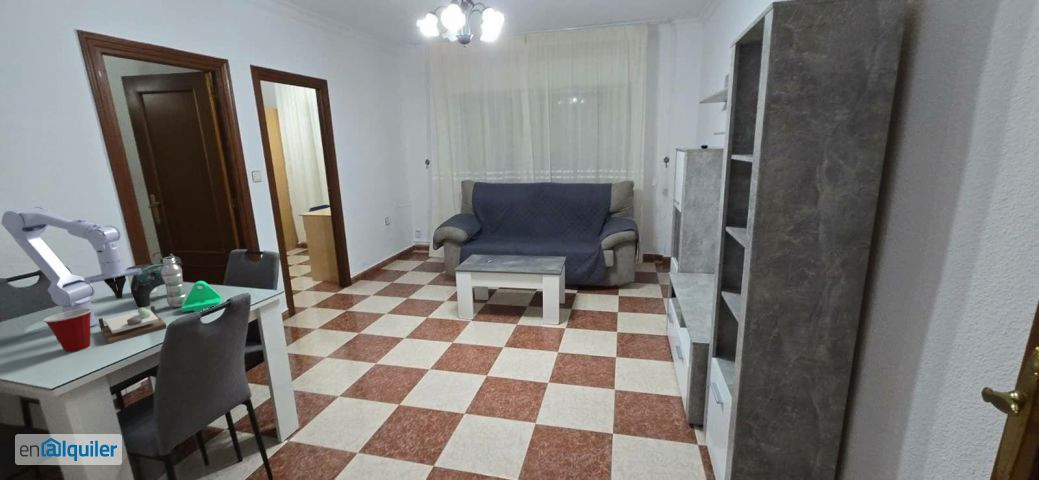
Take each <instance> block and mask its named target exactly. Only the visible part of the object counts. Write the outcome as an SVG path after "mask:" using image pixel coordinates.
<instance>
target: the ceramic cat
mask: <svg viewBox="0 0 1039 480" xmlns="http://www.w3.org/2000/svg"><path fill="white" fill-rule="evenodd" d="M157 254H160V255H161V256H162V257H158V259H159V260H160V261H159V262H157V263H152V262H151V263H144V264H140V265H141V266H139V267H137V268H140V267H142V266H144V265H147V264H149V265H148V266H146V267H144V268H142V269H141V271H142V274H136V275H134V276H133V278H132V282H131V288H130V293H131V296H132V299H133V300H134V301H135V302H134V303H135V305H136V306H137V308H138V309H139V308H142V307H143V308H146V307H149V306H151V302H150V299H151V298H150V297H151V294H150V293H151V291H152V290H153V289H154V288H156V287H157V288H158V287H160V286H163V285H165V283H164V280H163V278H162V275H161V270H162V268H163V267H164V264H163V259H164V258H169V257H175V261H176V262H175V263H176V264H177V265H178V266H180V267H181V268H182V265H183V262H182V260H181V258H180V257H178V256H175V255H174V254H173V253H170V254H169V256H165V257H164V255H163V253H162V252H158V251H157V252H154V253H153V254H152V257H154V258H155V255H157Z"/></svg>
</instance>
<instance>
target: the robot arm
mask: <svg viewBox="0 0 1039 480" xmlns="http://www.w3.org/2000/svg"><path fill="white" fill-rule="evenodd" d="M1 217H2V218H1V221H0V223H1V225H2V226H3V227H4V229H5V230H6V231H7V232H8V234H10V236H11V237H12V238H13V239H14V241H15V242H16V243H17V245H18V246H19V247H20V248H21V249H22V250H23V252H24V253H25V254H26V255H27V256H28V257H29V258H30V260H31V261H33V263H34V264H35V266H37V267H38V269H39V270H40V271H41V272H42V274H44V275H45V277H46V278H47V279H48V280H49V281H50V283H51V284H50V285H49V287H48V288H47V289H46V291H47V293H48V294H49V295H50V296H51V300H52V302H53V303H55V304H56V305H57V306H58V307H61V308H62V313H63V312H67V311H72V310H77V309H85V308H92V311H91V316H90V328H91V327H94V326H95V327H96V326H98V325H99V326H100V324H99V321H98V318H96V316H95V313H94V307H93V305H92V304H93V303H92V302H91V300H93V296H94V295H95V292H96V291H95V290H96V289H95V286H94V285H93V283H99V282H104V283H105V284H106V285H107V286H108V287H109V289H111V291H112V292H113V294H114V296H115V297H116V299H117V300H119V299H123V298H124V297H123V292H124V291H123V290H124V287H125V284H126V282H127V278H126V277H128V276H131V275H136V274H142V271H141V268H136V269H129V270H127V269H125V268H124V264H123V261H122V260H123V259H122V257H121V252H120V247H119V243H118V241H119V240H121V239H120V238H121V232H120V231H119V229H118V228H117V227H116V226H113V225H109V224H108V225H106V226H103V225H101V224H100V223H92V222H90V221H87V219H85V218H79V219H78V218H77V219H73V220H72V219H71V218H67V217H65V216H62V215H60V214H56V213H54V212H52V211H51V210H50V209H49V208H44V207H41V206H36V207H32V208H25V209H17V210H8V211H5V212H4V213H3V215H2V216H1ZM48 226H51V227H55V228H59V229H63V230H67V233H68V234H69V235H71V236H75V237H77V238H81V239H84V240H87V241H88V242H89V244H91V245H92V248H93V250H94V251H95V254H96V256H97V259H98V264H99V269H100V272H101V274H97V275H91V276H88V277H87V276H86V277H83V276H80V275H76V274H72V273H71V271H70V270H69V269H68V268H67V266H65V265H64V264H63V262H62V261H61V260H60V258H59V257H58V256H56V254H55V253H54V251H53V250H52V249H51V248H50V247H49V245H48V244H47V243H45V241H43V239H42V238H41V235H42V234H43V233H45V231H46V229H47V227H48Z"/></svg>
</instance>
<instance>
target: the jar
mask: <svg viewBox="0 0 1039 480" xmlns="http://www.w3.org/2000/svg"><path fill="white" fill-rule="evenodd" d="M146 264H147V265H144V266H142V267H140V268H141V269H142V268H144V267H146V266H148V265H150V264H148V263H146ZM141 265H142V264H138V265H133V266H129V267H127V268H126V270H129V269H136V268H137V267H139V266H141ZM133 276H134V275H131V276H127V278H128V279H127V280H128V283H129V287H130V289H131V282H132V278H133ZM157 291H158V287H156V288H154V289H153V290H152V291H151V293H150V295H152V294H155V293H157Z"/></svg>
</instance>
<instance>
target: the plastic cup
mask: <svg viewBox="0 0 1039 480" xmlns="http://www.w3.org/2000/svg"><path fill="white" fill-rule="evenodd" d="M92 308H93V307H92ZM92 308H85V309H77V310H72V311H67V312H63V311H62V312H59V313H56V314H52V315H50V316H47V317H45V318H43V320H42V321H43V322H44V323H46V325H47V326H48V327H49V329H50V330H51V332H52V333H53V335H54V336H55V338H56V340H57V342H58V343H59V344H60V346H61V348H62V349H63V351H64V352H65V353H74V352H79V351H81V350H85V349H87V348H89V347H90V346H91V335H92V334H91V327H90V316H91V311H92Z"/></svg>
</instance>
